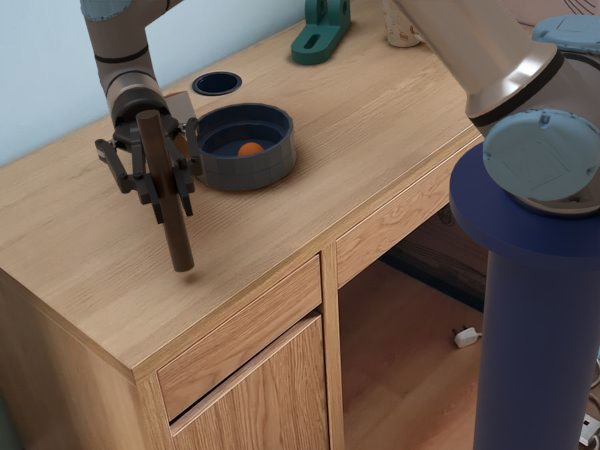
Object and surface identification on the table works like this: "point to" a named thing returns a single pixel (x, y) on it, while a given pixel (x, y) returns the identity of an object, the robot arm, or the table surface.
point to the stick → (165, 189)
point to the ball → (250, 149)
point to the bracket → (321, 30)
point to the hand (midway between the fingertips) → (173, 210)
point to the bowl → (237, 132)
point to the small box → (180, 106)
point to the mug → (398, 27)
